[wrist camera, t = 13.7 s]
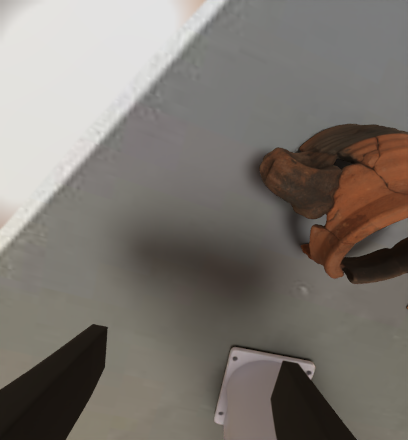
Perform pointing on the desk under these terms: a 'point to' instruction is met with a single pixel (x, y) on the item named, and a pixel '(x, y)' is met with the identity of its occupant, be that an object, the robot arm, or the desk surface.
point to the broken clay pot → (347, 195)
